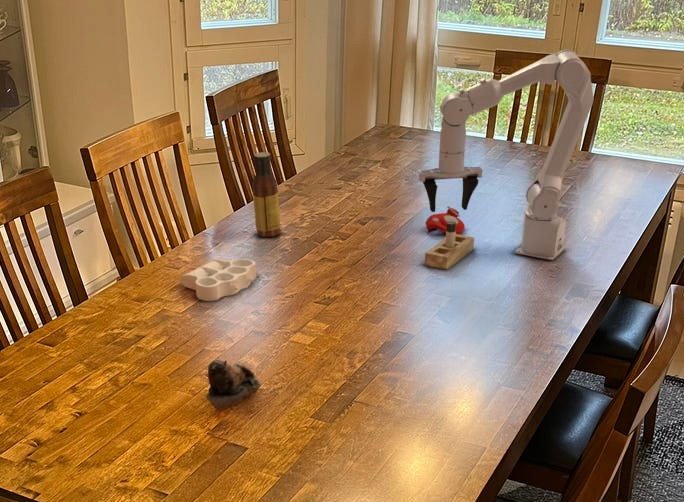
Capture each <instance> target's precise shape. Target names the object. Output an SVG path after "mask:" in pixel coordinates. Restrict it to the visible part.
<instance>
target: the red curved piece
mask: <svg viewBox="0 0 684 502" xmlns="http://www.w3.org/2000/svg"><path fill="white" fill-rule="evenodd" d="M446 208H447V210H446V212H441V213H435V214H431V215H430V216H428V218H426V221H425V227H426V230H427V231H432V230H433V231H434V230H435V229H436V230H438V231H440V232H442V233H445V234H446V227H447V222H449V221H454V222H456V234H458V235H462V234H463V233H464V231H465V227H466V226H465V223H464V221H462V220H461V219H460V218H461V215H460V211H458V210H457V209H456V208H454V207H450V206H447V207H446Z"/></svg>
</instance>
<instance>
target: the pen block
mask: <svg viewBox="0 0 684 502" xmlns="http://www.w3.org/2000/svg"><path fill="white" fill-rule="evenodd" d="M445 243H446V237H445V238H444V239H442V240H441V241H440V242H438V243H437V244H435V245H434V246H433V247H431V248H430V249H428V250H427V251H426V252H425V253H424V266H428V267H432V268H437V269H441V270H446V271H447V270H448V269H450V268H451V267H452V266H454V265H455V264H456V263H458V262H459V261H460V260H462V259H463V258H464V257H466V256H467V255H468V254H469V253H471V252H472V251H473V250H474V246H475V237H474V236H469V235H463V234H459V235H458V234H455V247H454V248H449V247H445Z"/></svg>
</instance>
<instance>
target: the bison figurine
mask: <svg viewBox="0 0 684 502" xmlns="http://www.w3.org/2000/svg"><path fill="white" fill-rule="evenodd" d="M207 379H208V383H209V388H208V393H207V394H206V395H205V398H206V400H207V401H208V402H209V403H210V405H212V407H213V408H214V409H217V410H223V409H228V408H231V407H233V406H235V405H237V404H239V403H240V402H242V401H243V400H244V399H245V398H246V397H248V396H250V395H251V396H252V395H254V394H256V393H257V392H258V390H259V388H260V387H261V386H262V384H261V382H260V381H259V379H257V378H256V375H255V373H254V372H253V371H252V370H250V368H249V367H248V366H247V365H244V364H240V363H238V362H236V363H233V364H228V360H224V361H223V360H220V359H214V360H212V362H210V363H209V364H208V368H207Z"/></svg>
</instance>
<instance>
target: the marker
mask: <svg viewBox="0 0 684 502" xmlns="http://www.w3.org/2000/svg"><path fill="white" fill-rule="evenodd" d="M455 234H456V222H454V221H449V222H447V227H446V233H445V238H446V243H445V247H449V248H454V247H455Z"/></svg>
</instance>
